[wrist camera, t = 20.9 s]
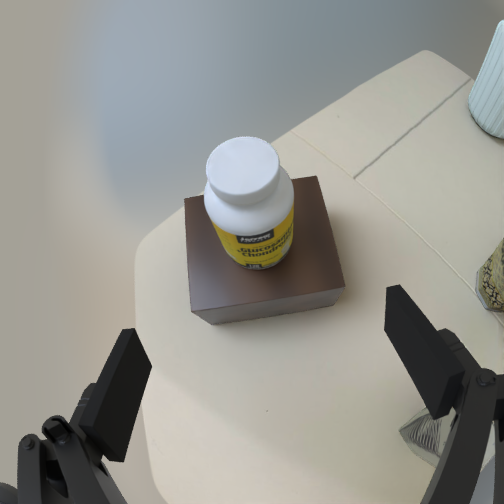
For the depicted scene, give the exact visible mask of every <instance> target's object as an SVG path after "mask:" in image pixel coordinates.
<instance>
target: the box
mask: <svg viewBox="0 0 504 504" xmlns="http://www.w3.org/2000/svg"><path fill="white" fill-rule="evenodd" d="M455 414H456V412H455V410H454V408H451V410H450V413H449V415H447V416H444V417H442V418H439V419H436V420H433V418H432V417H431V415H430V413H429V411H428V409H427V407H426V408H425V409H423V410H422V411H421V412H420V413H418V414H417V415H416V416H415V417H413V418H412V419H411V420H410V421H409V422H407V423H406V424H405V425H404V426H403V427H401V428H400V429H399V432H400V434H401V435H402V437H403V438H404V440H405V442H406V443H407V445H408V446H409V448H410V449H411V450H412V452H413V453H414V454H416V455H417V456H419V457H420V458H422V459H423V460H425V461H426V462H428V463H429V464H431V465H432V466H434V467H435V468H436V467H437V465H438V462H439V459H440V457H441V454H442V452H443V449H444V446H445V443H446V440H447V437H448V435H449V432H450V428H451V427H450V425H451V422H452V420H453V418H454V416H455ZM494 456H495V431H494V424H493V422H492V426H491V431H490V436H489V440H488V444H487V448H486V452H485V456H484V460H483V463H482V467H481V469H482V468H483V467H484V466H485V465H486V464H487V463H488V462H489V461H490V460H491V459H492V458H493V457H494Z"/></svg>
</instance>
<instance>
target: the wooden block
mask: <svg viewBox="0 0 504 504" xmlns="http://www.w3.org/2000/svg"><path fill="white" fill-rule="evenodd" d="M291 181H292V184H293V189H294V215H293V240H292V244H291V247H290V249H289V251H288V253H287V254H286V256H285V257H284V258H283V259H282V260H281V261H280V262H278V263H277V264H275V265H273V266H271V267H269V268H265V269H249V268H245V267H242V266H240V265H238V264H237V263H235V262H234V261H233V260H232V259H231V258H230V257H229V255H228V254H227V252H226V251H225V249H224V247H223V244H222V242H221V240H220V238H219V236H218V234H217V232H216V230H215V228H214V226H213V223H212V221H211V219H210V217H209V215H208V213H207V211H206V208H205V203H204V195H200V196H195V197H190V198H185V199H184V200H185V201H184V202H185V226H186V246H187V263H188V278H189V291H190V304H191V312H193V313H194V314H196V315H197V316H199V317H200V318H202V319H203V320H205V321H206V322H208V323H209V324H211V325H215V324H223V323H230V322H237V321H244V320H251V319H257V318H264V317H270V316H276V315H282V314H288V313H294V312H300V311H305V310H311V309H317V308H322V307H327V306H333V305H334V304H335V302H336V301H337V299H338V297H339V296H340V294H341V293H342V291H343V289H344V288H345V283H344V278H343V274H342V270H341V265H340V261H339V257H338V253H337V249H336V245H335V241H334V237H333V233H332V229H331V225H330V221H329V218H328V214H327V210H326V207H325V203H324V199H323V196H322V192H321V189H320V185H319V182H318V178H317V176H311V177H304V178H297V179H291Z"/></svg>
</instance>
